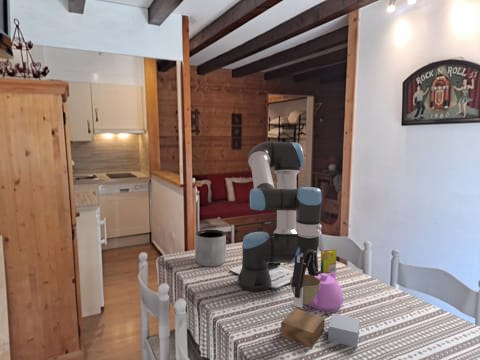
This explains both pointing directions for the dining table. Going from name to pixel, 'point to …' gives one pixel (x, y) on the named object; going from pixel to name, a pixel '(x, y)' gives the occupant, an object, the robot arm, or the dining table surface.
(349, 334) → the slate block
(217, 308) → the dining table surface
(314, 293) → the tan cup
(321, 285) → the teapot
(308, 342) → the walnut block
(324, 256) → the crayon box
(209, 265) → the planter
